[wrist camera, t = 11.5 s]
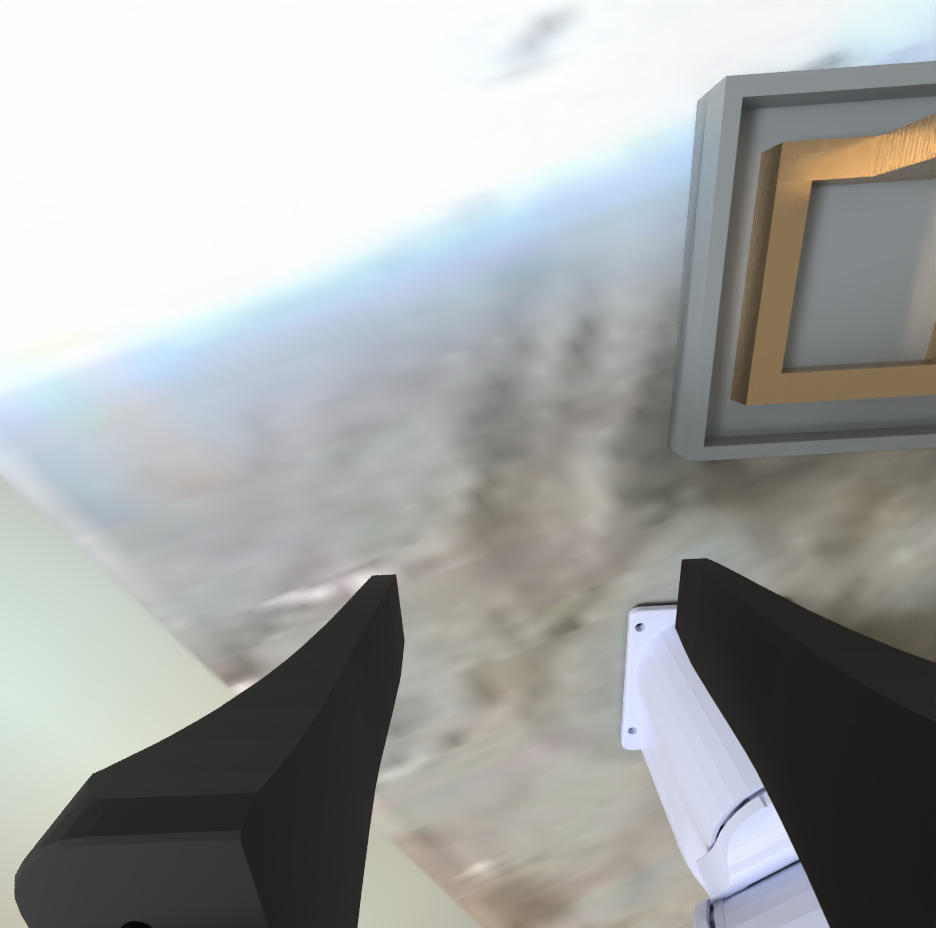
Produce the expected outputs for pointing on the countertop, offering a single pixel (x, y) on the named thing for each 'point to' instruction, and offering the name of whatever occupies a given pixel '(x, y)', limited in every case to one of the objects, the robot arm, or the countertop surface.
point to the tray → (807, 266)
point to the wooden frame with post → (777, 259)
